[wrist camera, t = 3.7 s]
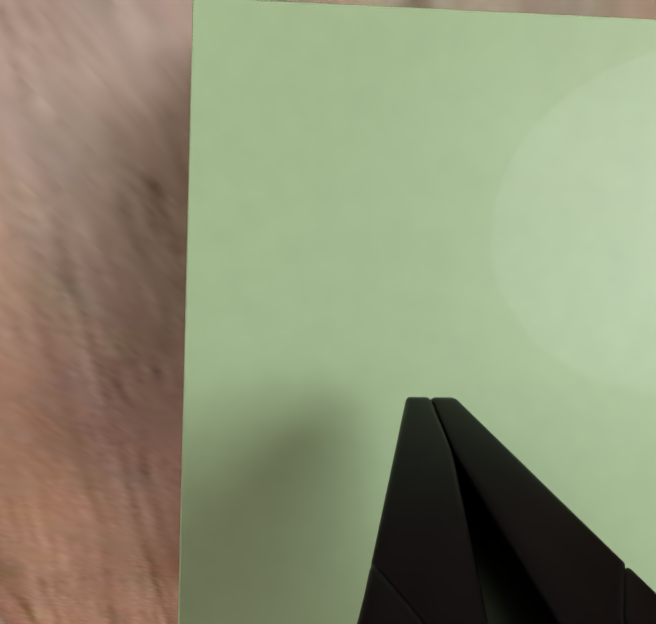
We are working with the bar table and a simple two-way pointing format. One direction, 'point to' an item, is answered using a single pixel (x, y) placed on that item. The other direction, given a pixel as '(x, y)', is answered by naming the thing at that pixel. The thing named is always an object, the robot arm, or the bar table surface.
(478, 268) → the lid
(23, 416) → the bar table surface
